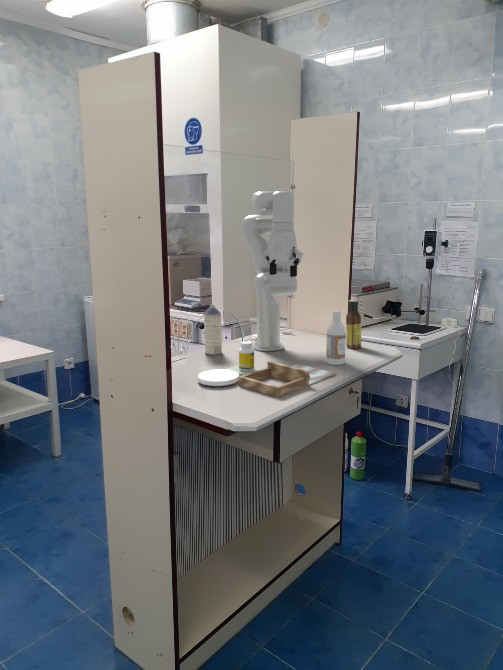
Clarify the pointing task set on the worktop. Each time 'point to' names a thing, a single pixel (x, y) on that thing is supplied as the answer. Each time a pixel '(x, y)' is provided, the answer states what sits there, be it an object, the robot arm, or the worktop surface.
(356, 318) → the sauce bottle
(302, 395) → the worktop surface
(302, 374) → the frame
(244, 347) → the supplement bottle
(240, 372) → the tray
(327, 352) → the bath foam
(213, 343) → the aerosol can
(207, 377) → the plastic lid
